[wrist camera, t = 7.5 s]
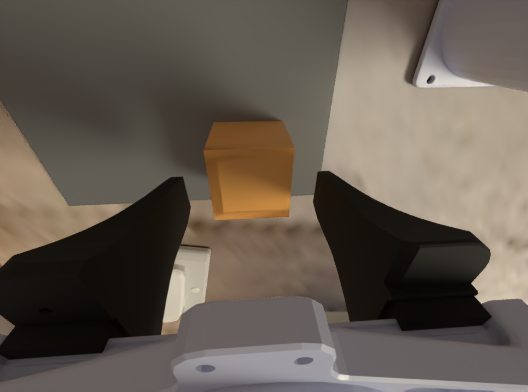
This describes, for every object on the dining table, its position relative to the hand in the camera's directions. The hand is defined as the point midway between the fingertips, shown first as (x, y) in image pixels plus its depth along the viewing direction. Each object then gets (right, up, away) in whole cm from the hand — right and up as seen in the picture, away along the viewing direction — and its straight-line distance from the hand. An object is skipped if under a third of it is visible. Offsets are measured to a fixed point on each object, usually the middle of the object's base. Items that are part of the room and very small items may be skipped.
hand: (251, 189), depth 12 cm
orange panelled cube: (0, +3, +4) cm, 5 cm away
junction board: (-5, +6, +2) cm, 8 cm away
